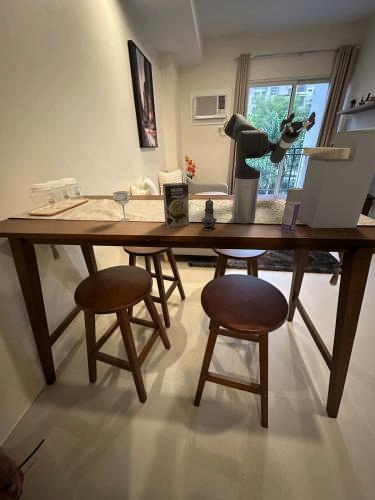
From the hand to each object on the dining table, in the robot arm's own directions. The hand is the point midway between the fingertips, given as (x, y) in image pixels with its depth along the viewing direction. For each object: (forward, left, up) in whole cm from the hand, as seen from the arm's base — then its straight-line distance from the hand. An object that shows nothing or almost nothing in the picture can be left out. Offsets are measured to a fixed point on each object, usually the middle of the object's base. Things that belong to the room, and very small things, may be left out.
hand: (304, 114), depth 92 cm
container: (-12, -35, -40) cm, 55 cm away
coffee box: (-54, -27, -40) cm, 73 cm away
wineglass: (-78, -21, -40) cm, 91 cm away
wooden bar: (0, -23, -16) cm, 28 cm away
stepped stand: (+5, -26, -40) cm, 48 cm away
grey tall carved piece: (-41, -33, -40) cm, 67 cm away
